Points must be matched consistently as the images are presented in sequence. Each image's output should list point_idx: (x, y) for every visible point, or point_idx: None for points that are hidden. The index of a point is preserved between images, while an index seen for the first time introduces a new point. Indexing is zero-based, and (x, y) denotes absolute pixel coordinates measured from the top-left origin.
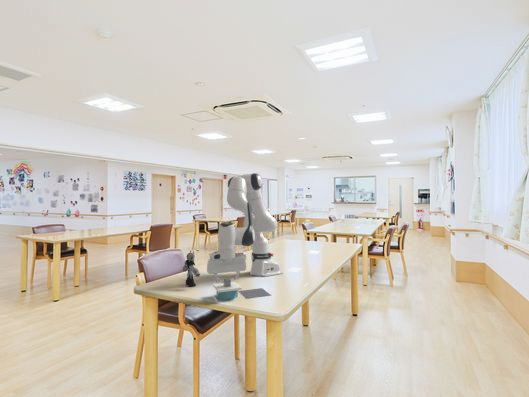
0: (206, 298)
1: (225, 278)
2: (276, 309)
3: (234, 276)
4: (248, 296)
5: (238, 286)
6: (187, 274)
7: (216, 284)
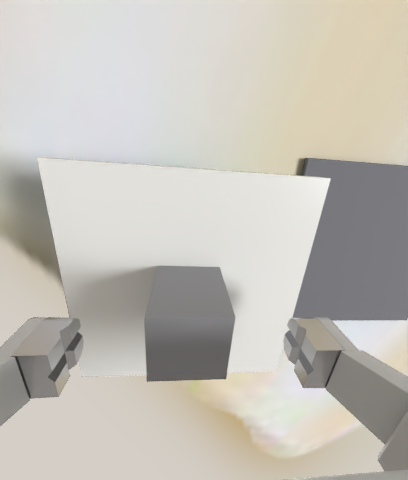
0: (42, 204)
1: (176, 318)
2: (307, 428)
3: (312, 365)
4: (302, 292)
5: (271, 341)
6: None
7: (83, 197)
